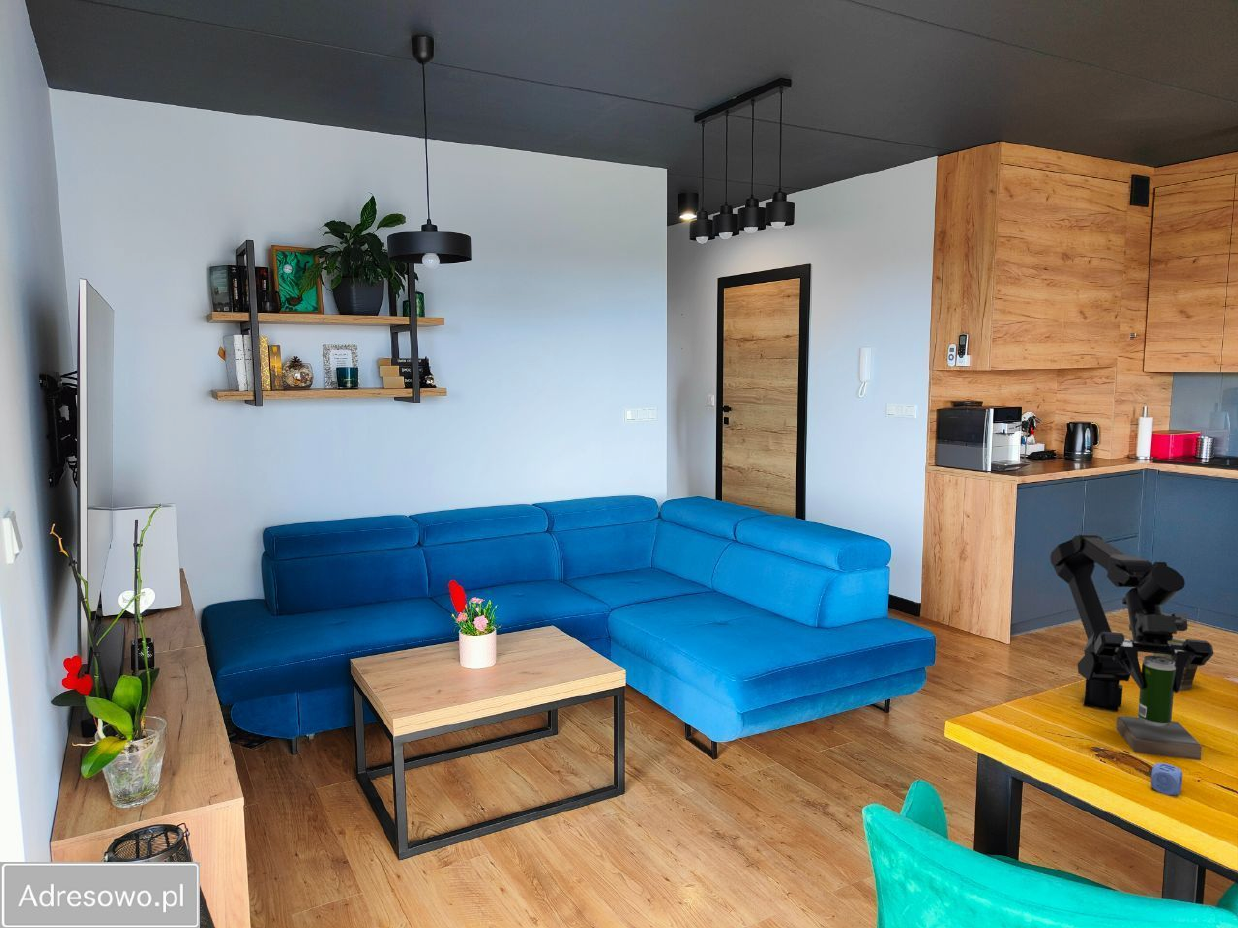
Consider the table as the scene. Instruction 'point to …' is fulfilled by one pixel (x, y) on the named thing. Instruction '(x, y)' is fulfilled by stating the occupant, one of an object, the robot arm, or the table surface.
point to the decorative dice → (1166, 779)
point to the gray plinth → (1158, 738)
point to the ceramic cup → (1187, 672)
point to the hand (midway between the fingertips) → (1159, 689)
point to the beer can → (1157, 690)
